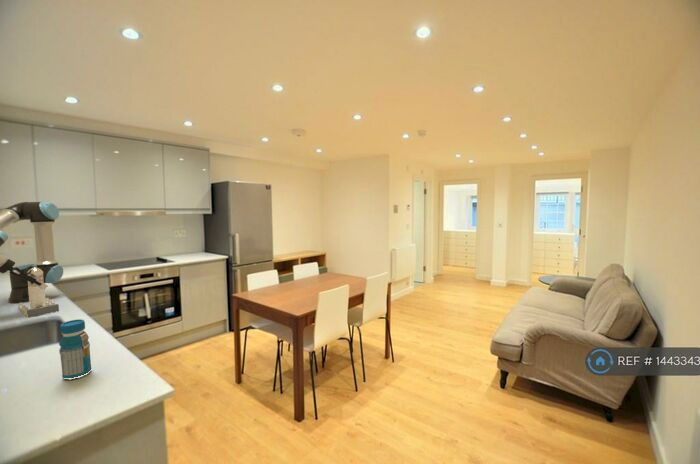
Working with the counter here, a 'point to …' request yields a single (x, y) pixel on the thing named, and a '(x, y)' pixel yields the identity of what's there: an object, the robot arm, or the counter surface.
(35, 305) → the water bottle
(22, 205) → the robot arm
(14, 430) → the counter surface
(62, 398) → the counter surface
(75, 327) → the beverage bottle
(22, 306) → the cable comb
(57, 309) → the block
